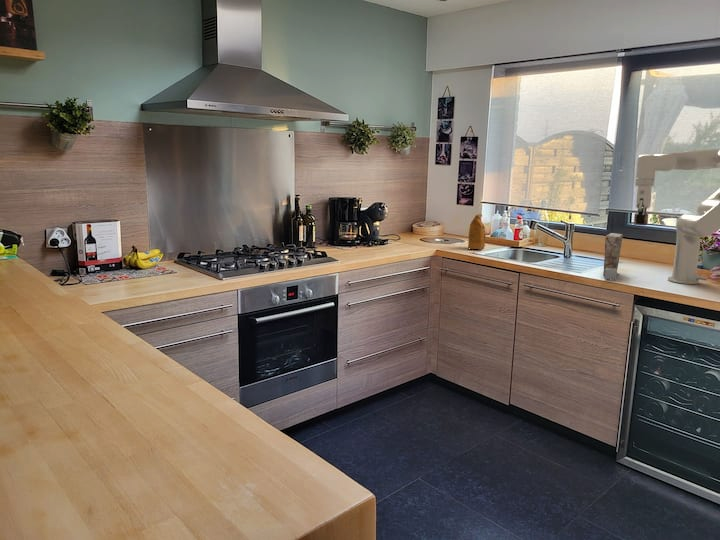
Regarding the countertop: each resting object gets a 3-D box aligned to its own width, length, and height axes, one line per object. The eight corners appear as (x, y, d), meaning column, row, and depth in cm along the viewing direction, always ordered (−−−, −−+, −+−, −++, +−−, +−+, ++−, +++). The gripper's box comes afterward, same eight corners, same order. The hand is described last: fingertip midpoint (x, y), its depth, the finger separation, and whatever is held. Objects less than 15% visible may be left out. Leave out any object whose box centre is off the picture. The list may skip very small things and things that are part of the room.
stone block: (617, 277, 264) (621, 236, 260) (601, 276, 267) (605, 235, 263) (618, 272, 275) (623, 233, 271) (603, 271, 279) (607, 232, 275)
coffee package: (487, 248, 348) (489, 213, 343) (481, 251, 337) (483, 215, 333) (472, 247, 353) (473, 212, 348) (465, 249, 342) (467, 214, 338)
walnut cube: (647, 224, 250) (648, 213, 249) (645, 225, 246) (647, 214, 245) (635, 223, 253) (636, 212, 252) (633, 224, 249) (634, 213, 248)
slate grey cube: (615, 278, 262) (616, 268, 261) (616, 280, 257) (617, 270, 256) (604, 277, 264) (605, 267, 263) (604, 279, 259) (605, 269, 258)
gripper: (651, 183, 237) (647, 225, 241) (656, 182, 251) (652, 222, 254) (632, 183, 241) (628, 224, 245) (638, 181, 255) (634, 221, 259)
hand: (640, 222), depth 250 cm, fingers closed on walnut cube, 5 cm apart
